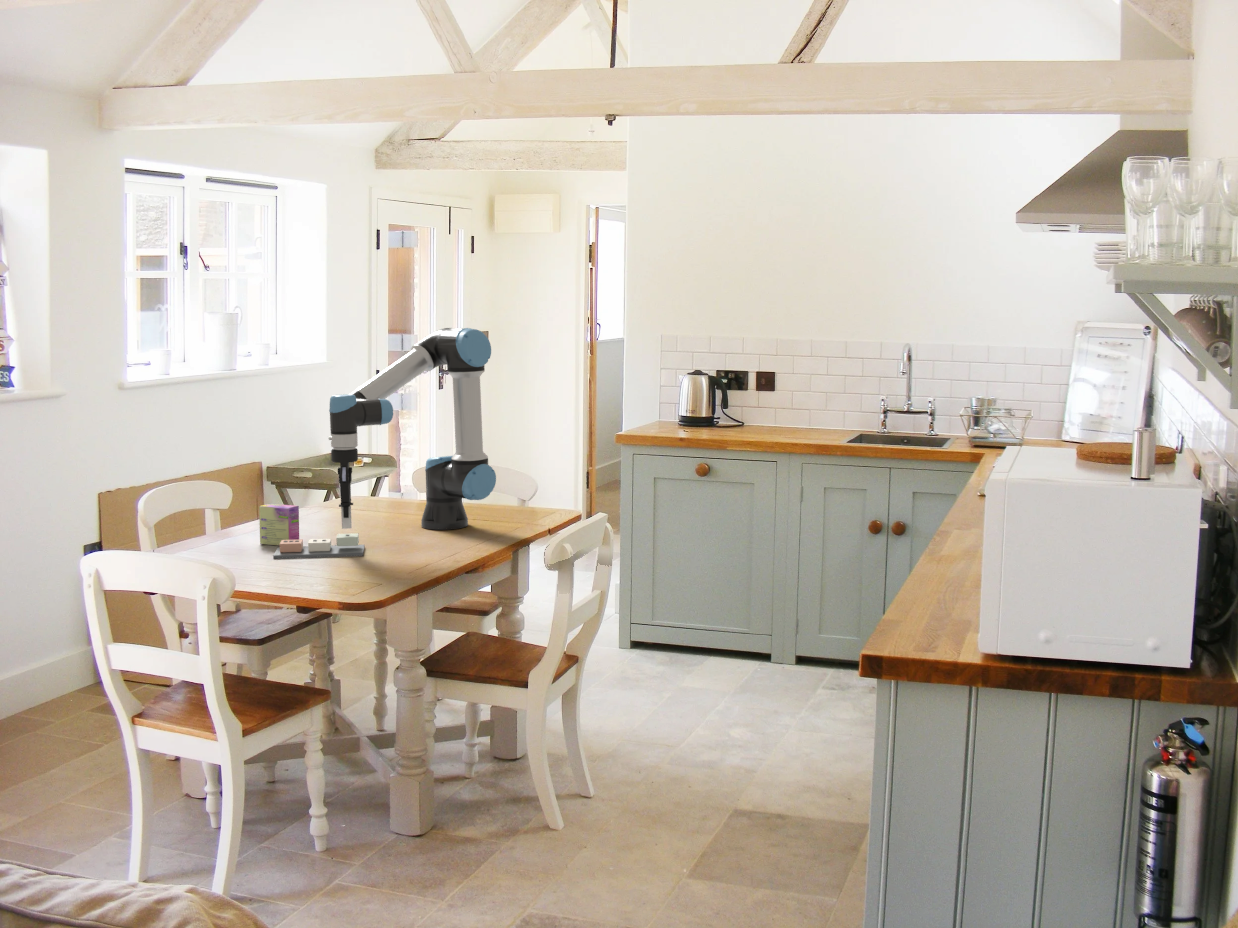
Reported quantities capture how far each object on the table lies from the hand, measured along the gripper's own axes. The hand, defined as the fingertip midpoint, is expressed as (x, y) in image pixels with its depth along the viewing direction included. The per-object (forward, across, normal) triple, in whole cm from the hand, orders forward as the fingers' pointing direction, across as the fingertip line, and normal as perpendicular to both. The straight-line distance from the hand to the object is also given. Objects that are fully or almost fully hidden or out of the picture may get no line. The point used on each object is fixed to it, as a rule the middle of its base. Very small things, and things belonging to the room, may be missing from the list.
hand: (346, 528), depth 350 cm
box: (+8, -16, -21) cm, 27 cm away
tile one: (+5, 0, 0) cm, 5 cm away
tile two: (+6, 0, -8) cm, 10 cm away
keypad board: (+7, 0, -8) cm, 11 cm away
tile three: (+6, 0, -16) cm, 17 cm away
